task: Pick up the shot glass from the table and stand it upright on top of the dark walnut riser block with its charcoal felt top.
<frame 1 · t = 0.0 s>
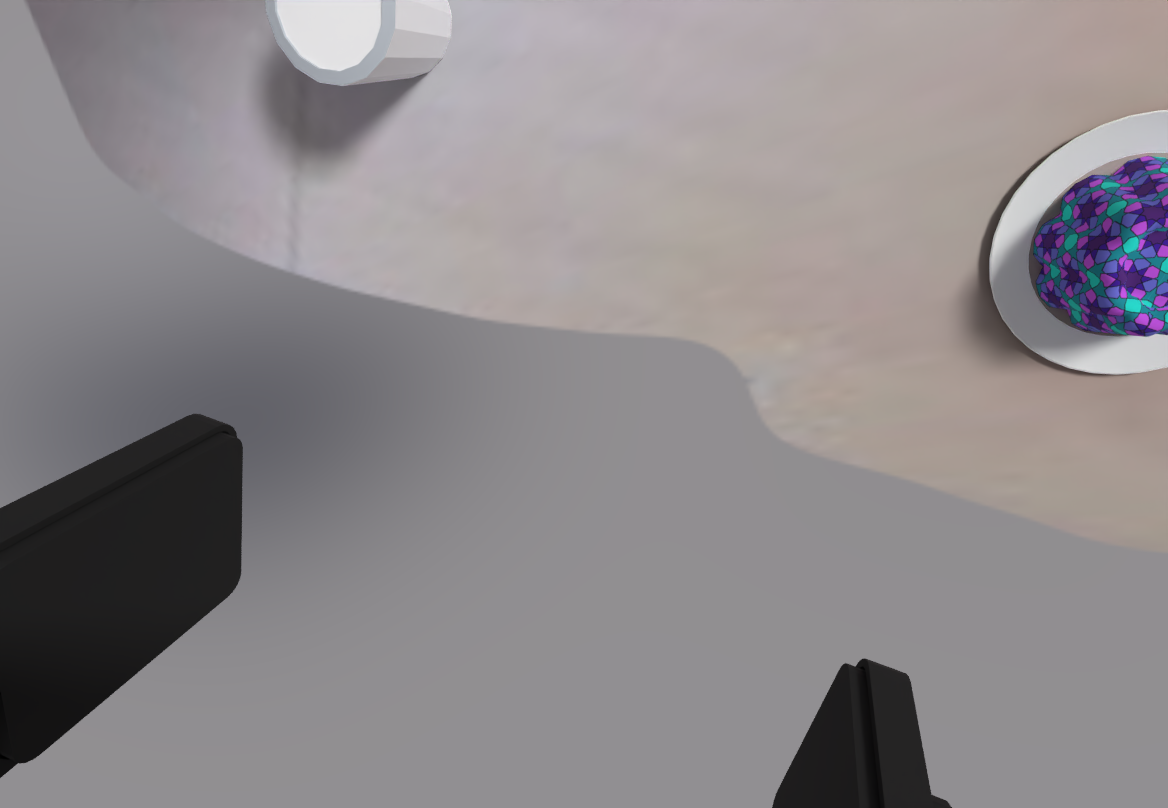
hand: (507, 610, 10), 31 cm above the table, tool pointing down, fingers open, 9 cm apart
pudding: (1127, 247, 34), on the table
shot glass: (406, 21, 39), on the table
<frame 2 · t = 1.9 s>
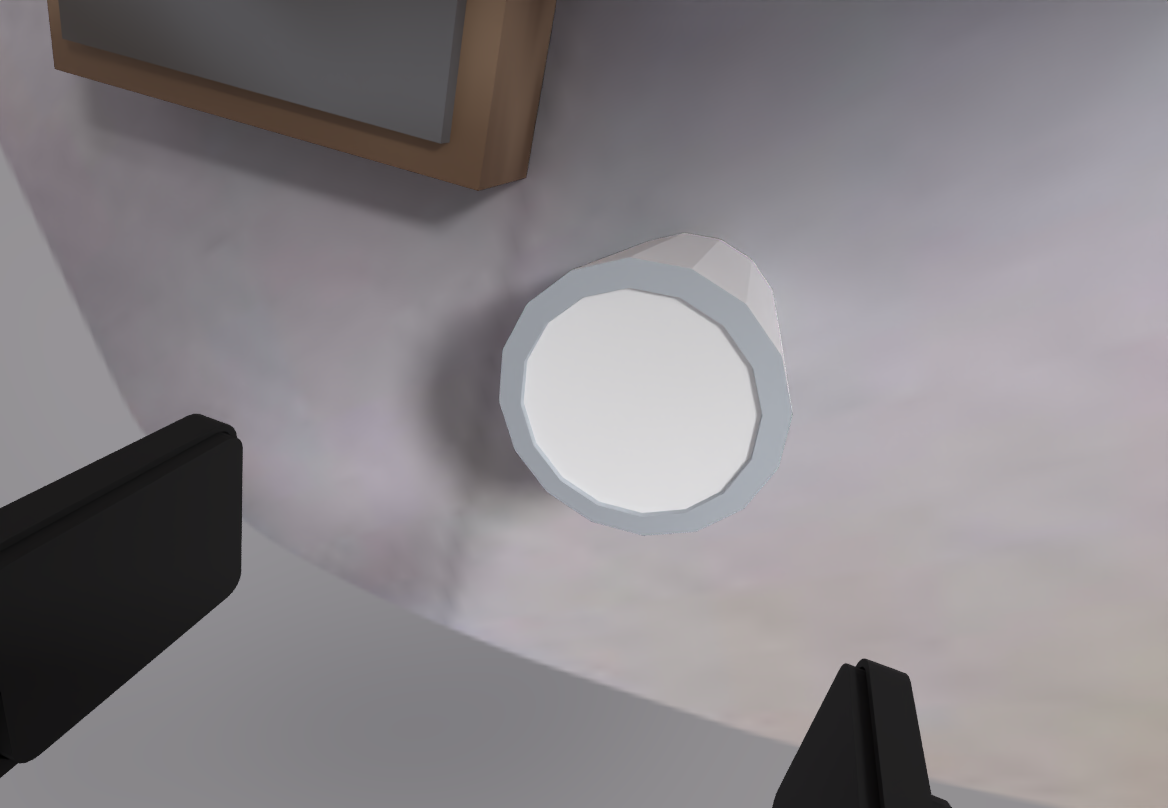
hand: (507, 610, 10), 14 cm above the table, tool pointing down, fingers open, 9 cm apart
shot glass: (686, 321, 23), on the table
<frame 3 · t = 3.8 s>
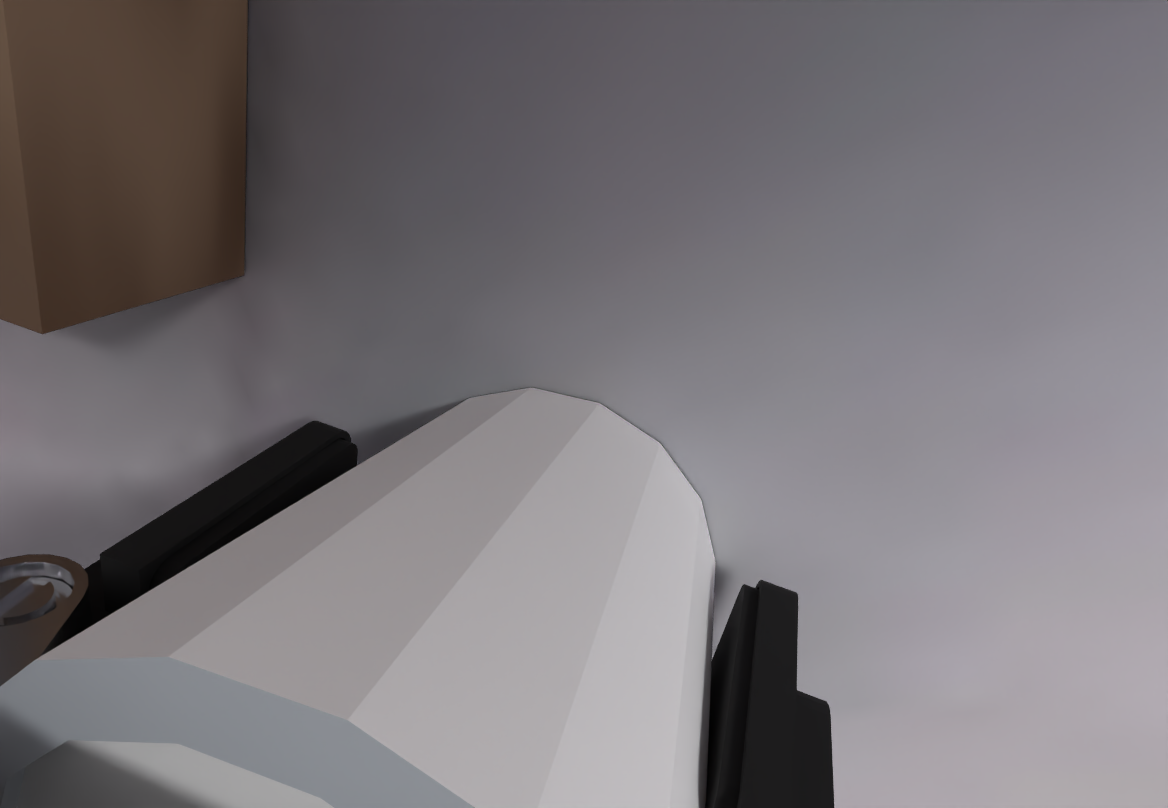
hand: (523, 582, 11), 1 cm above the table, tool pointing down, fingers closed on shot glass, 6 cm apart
shot glass: (550, 537, 12), on the table, touching gripper
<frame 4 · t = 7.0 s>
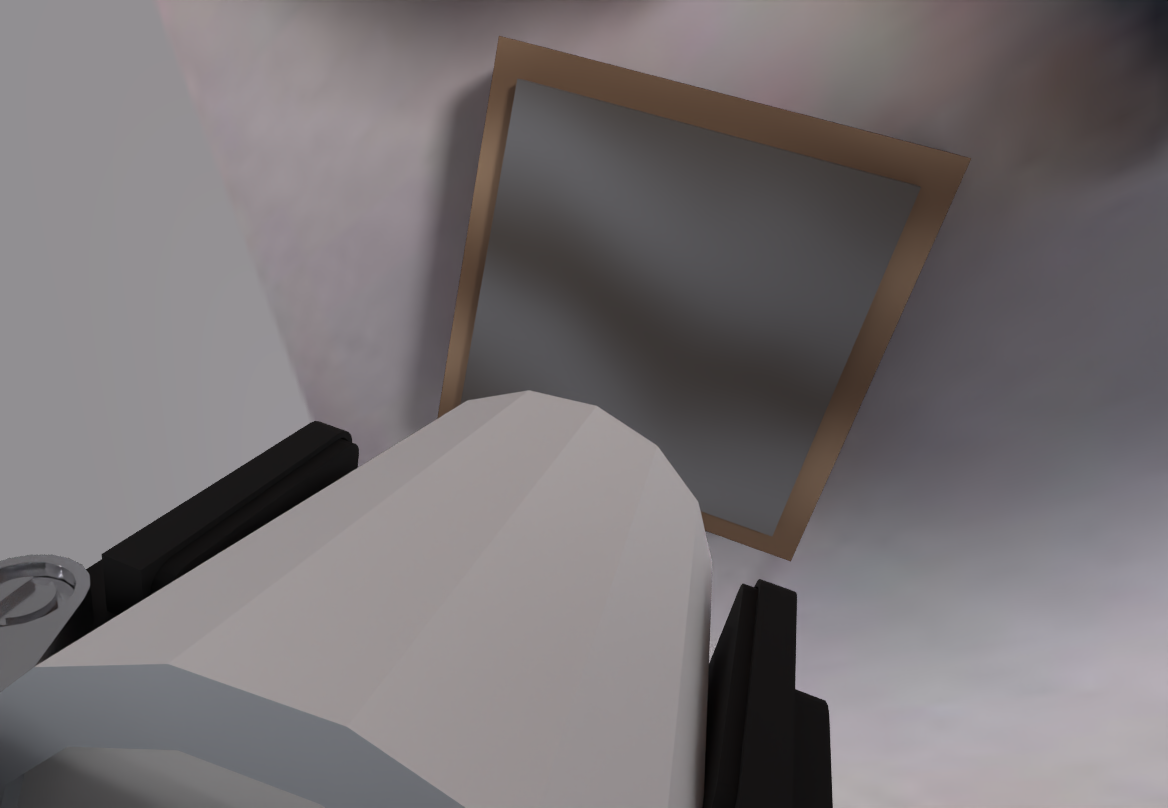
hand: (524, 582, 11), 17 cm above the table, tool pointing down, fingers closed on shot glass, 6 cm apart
riser: (673, 295, 27), on the table
shot glass: (548, 539, 12), point 16 cm above the table, touching gripper
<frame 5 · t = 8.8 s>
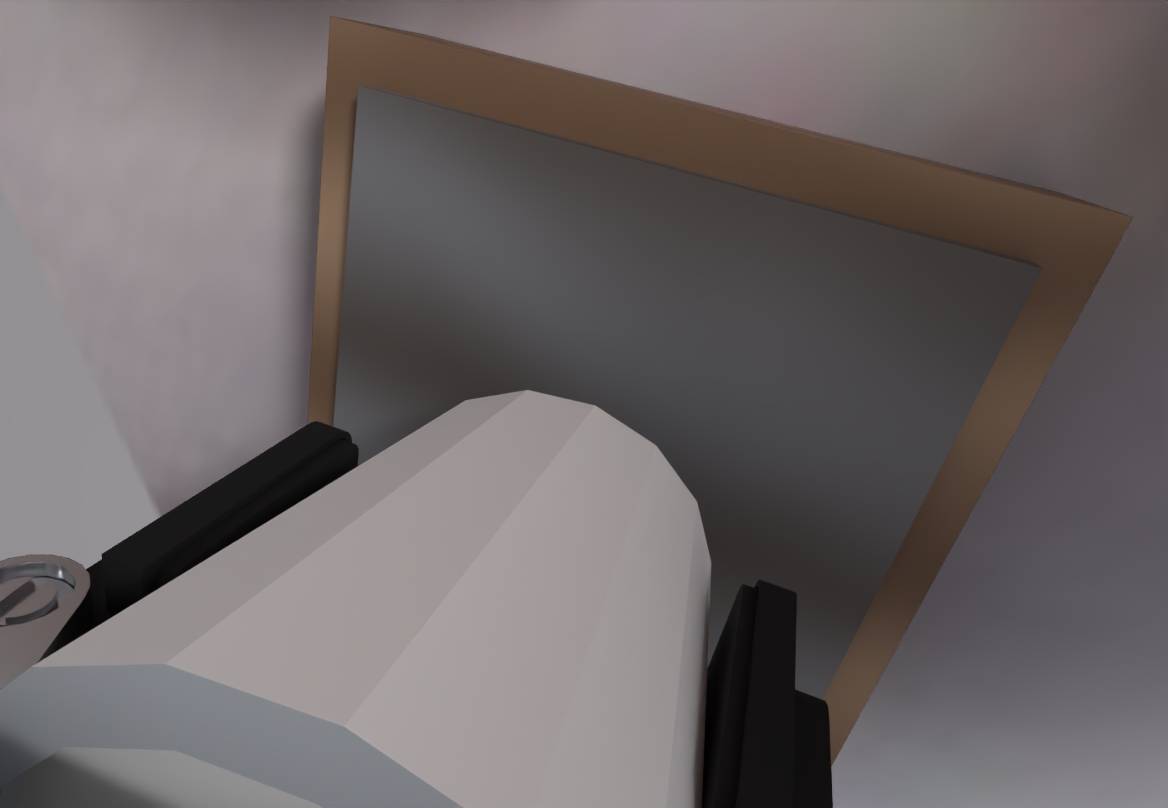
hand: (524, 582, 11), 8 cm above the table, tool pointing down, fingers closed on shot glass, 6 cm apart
riser: (635, 397, 18), on the table
shot glass: (547, 539, 12), point 7 cm above the table, touching gripper
when the fingers open (6 cm above the table, at t = 10.1 s): shot glass drops 1 cm, resting on riser.
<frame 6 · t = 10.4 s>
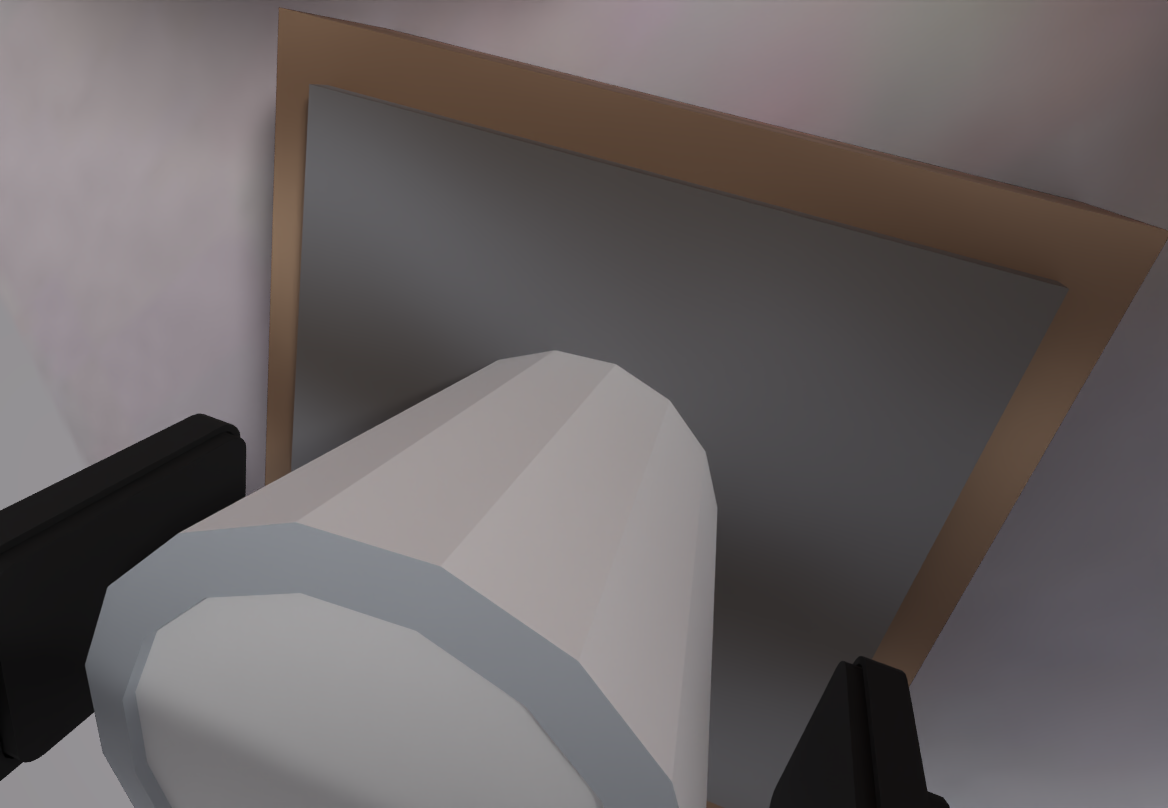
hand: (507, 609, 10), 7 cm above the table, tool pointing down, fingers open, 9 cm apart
riser: (621, 419, 17), on the table
shot glass: (568, 489, 14), point 4 cm above the table, touching riser
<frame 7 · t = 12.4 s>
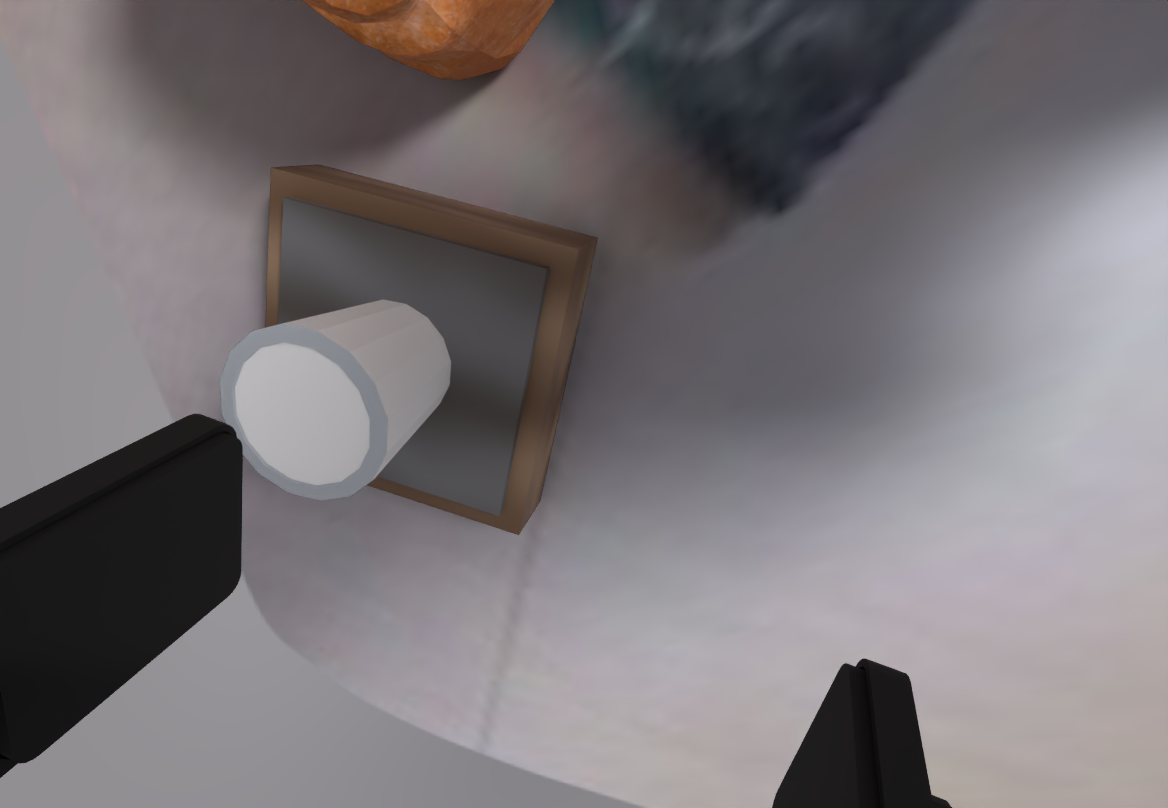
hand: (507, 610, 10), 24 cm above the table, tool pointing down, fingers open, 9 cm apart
riser: (434, 341, 36), on the table
shot glass: (395, 360, 32), point 4 cm above the table, touching riser
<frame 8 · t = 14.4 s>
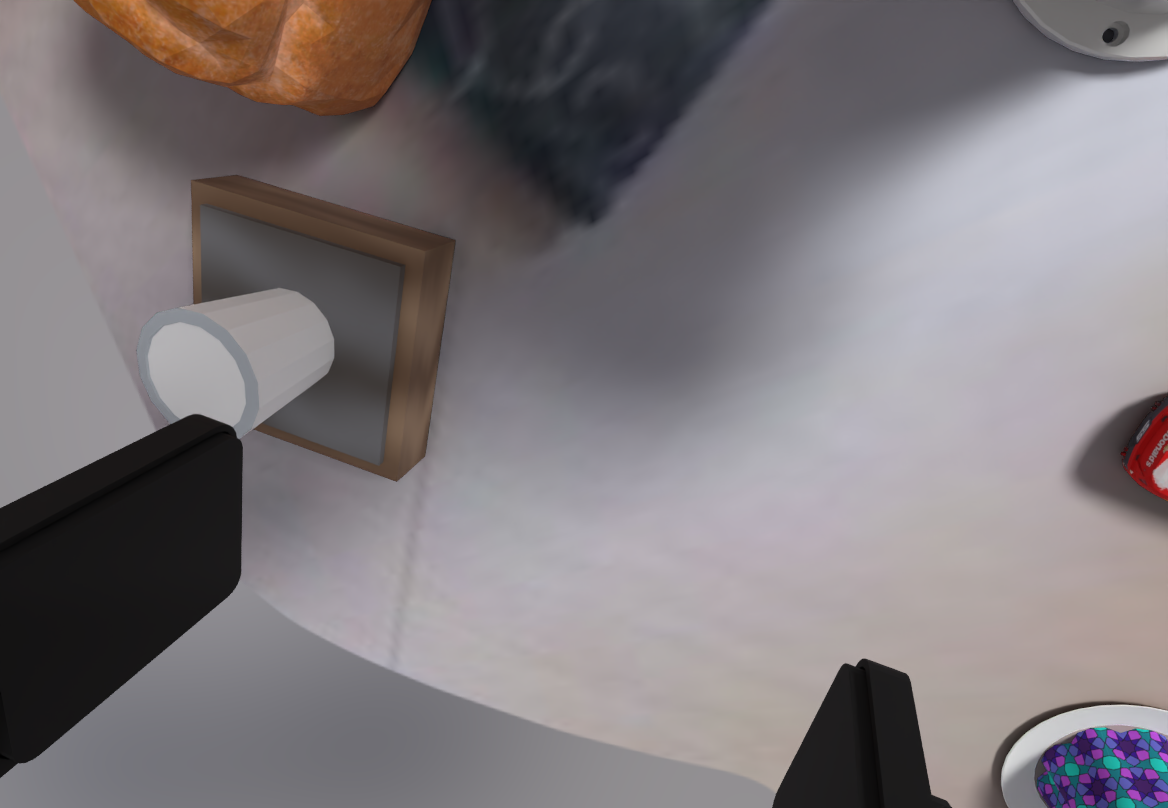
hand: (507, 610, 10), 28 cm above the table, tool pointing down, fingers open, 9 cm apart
pudding: (1116, 776, 41), on the table
riser: (335, 321, 43), on the table
shot glass: (292, 336, 40), point 4 cm above the table, touching riser
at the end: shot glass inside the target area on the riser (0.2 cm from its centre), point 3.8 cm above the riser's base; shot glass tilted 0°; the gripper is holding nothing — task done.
